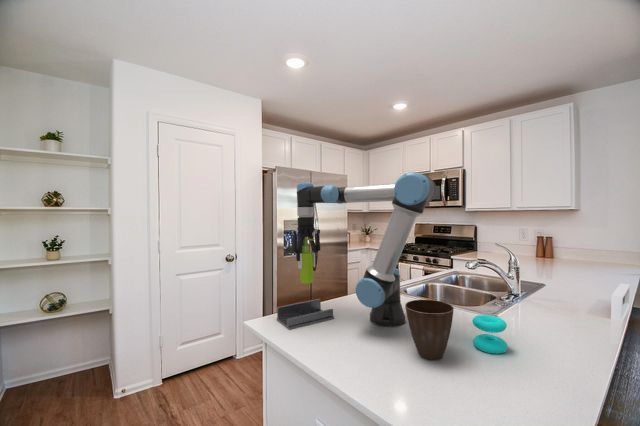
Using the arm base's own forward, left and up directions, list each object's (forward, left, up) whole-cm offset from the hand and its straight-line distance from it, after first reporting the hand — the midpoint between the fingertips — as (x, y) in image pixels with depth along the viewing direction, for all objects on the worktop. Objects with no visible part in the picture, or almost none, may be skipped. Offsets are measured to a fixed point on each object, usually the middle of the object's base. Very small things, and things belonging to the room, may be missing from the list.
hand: (306, 267), depth 134 cm
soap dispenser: (0, 0, -7) cm, 7 cm away
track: (-1, +2, -23) cm, 23 cm away
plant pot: (-54, -17, -23) cm, 61 cm away
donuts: (-62, -37, -24) cm, 76 cm away
